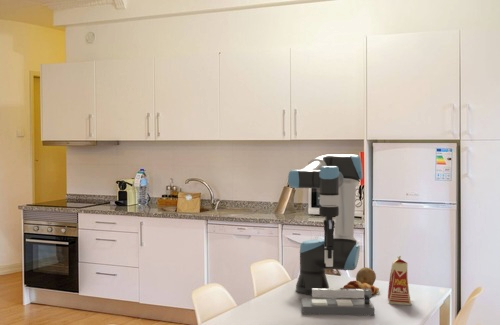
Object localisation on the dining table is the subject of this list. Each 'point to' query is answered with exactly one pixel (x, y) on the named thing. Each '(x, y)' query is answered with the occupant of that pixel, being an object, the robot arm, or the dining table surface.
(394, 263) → the milk carton
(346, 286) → the croissant
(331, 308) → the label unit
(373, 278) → the natural sponge
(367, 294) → the swing arm
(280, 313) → the dining table surface
